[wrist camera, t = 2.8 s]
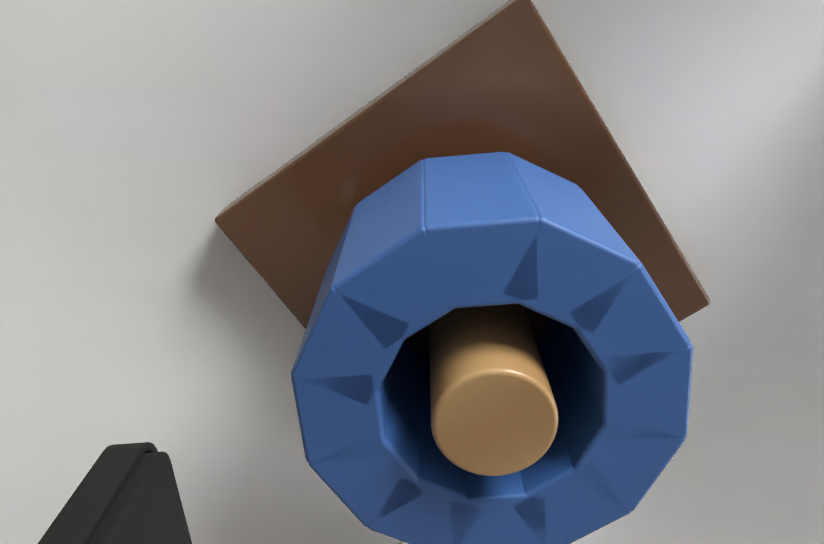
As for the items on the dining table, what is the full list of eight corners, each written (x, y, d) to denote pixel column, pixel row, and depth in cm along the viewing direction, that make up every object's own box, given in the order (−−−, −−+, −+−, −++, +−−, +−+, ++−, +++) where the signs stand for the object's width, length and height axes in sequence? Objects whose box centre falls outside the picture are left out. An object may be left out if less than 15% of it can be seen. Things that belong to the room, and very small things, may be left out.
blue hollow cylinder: (270, 262, 15) (214, 364, 11) (519, 90, 14) (562, 134, 10) (435, 461, 17) (440, 611, 13) (668, 328, 16) (759, 449, 12)
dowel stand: (222, 208, 18) (83, 361, 11) (520, -9, 16) (607, -7, 9) (422, 448, 21) (423, 704, 13) (698, 288, 19) (882, 485, 11)
